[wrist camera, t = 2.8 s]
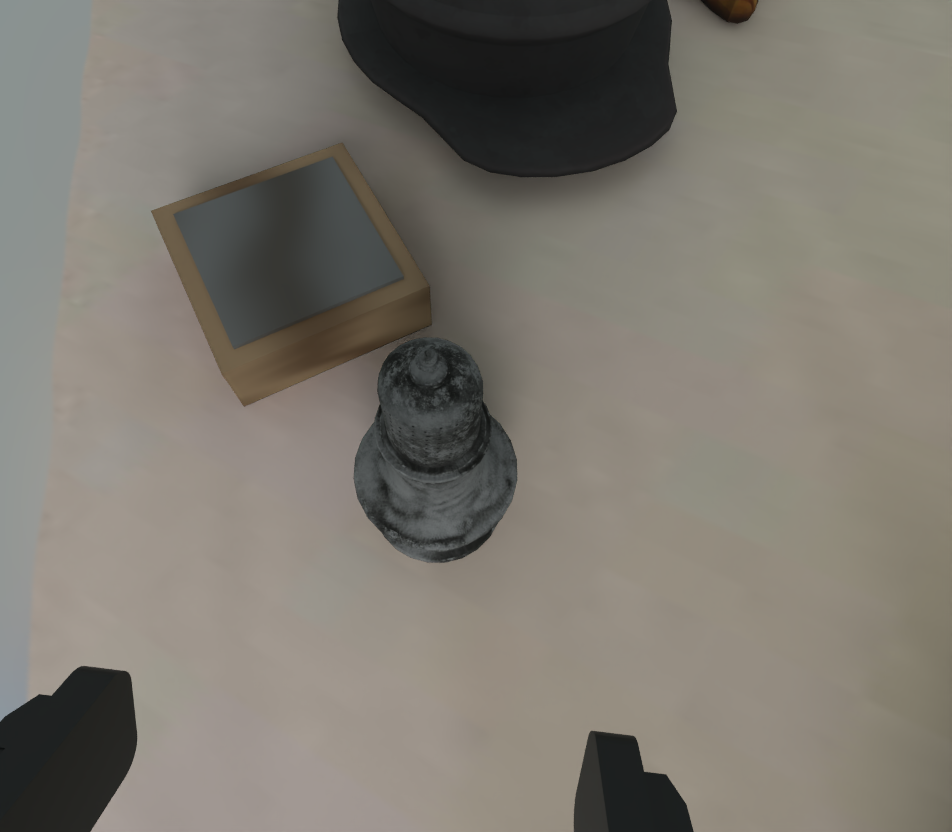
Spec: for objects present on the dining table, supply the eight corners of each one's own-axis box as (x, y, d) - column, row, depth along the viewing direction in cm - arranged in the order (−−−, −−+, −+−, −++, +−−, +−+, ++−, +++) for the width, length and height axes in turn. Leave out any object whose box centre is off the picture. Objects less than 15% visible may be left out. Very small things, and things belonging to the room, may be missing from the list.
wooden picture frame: (351, 189, 33) (341, 139, 30) (431, 324, 30) (429, 282, 27) (177, 254, 31) (149, 207, 28) (243, 406, 28) (219, 371, 25)
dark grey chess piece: (449, 601, 25) (447, 518, 14) (335, 510, 26) (252, 369, 16) (538, 486, 27) (595, 334, 16) (427, 406, 29) (412, 216, 18)
